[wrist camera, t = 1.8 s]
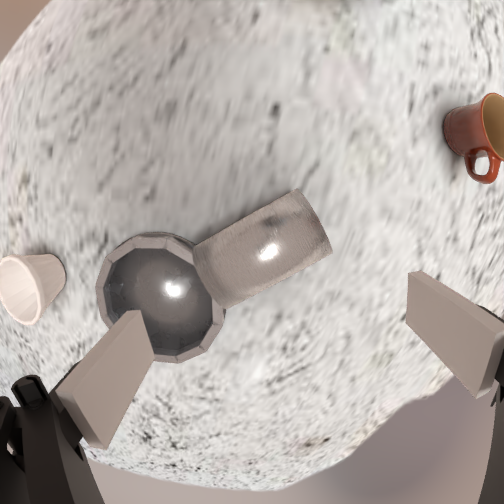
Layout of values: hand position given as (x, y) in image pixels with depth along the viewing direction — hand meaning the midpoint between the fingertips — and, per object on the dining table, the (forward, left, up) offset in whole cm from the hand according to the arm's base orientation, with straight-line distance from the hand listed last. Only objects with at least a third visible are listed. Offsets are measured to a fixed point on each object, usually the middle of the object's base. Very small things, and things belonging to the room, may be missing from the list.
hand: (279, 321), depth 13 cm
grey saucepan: (+1, -10, -23) cm, 25 cm away
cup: (-11, -31, -24) cm, 41 cm away
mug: (+2, +32, -24) cm, 39 cm away
